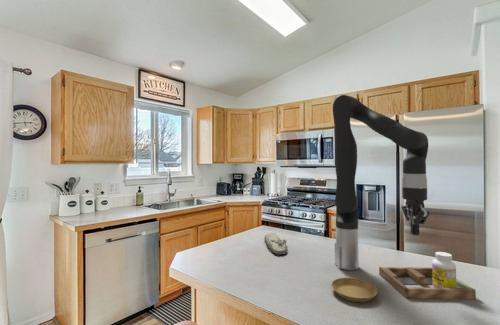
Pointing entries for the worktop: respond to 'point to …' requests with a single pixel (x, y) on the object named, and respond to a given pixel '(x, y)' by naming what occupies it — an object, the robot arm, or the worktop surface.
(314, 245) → the worktop surface
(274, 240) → the elongated rock
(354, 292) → the plant saucer
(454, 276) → the supplement bottle
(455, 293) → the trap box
